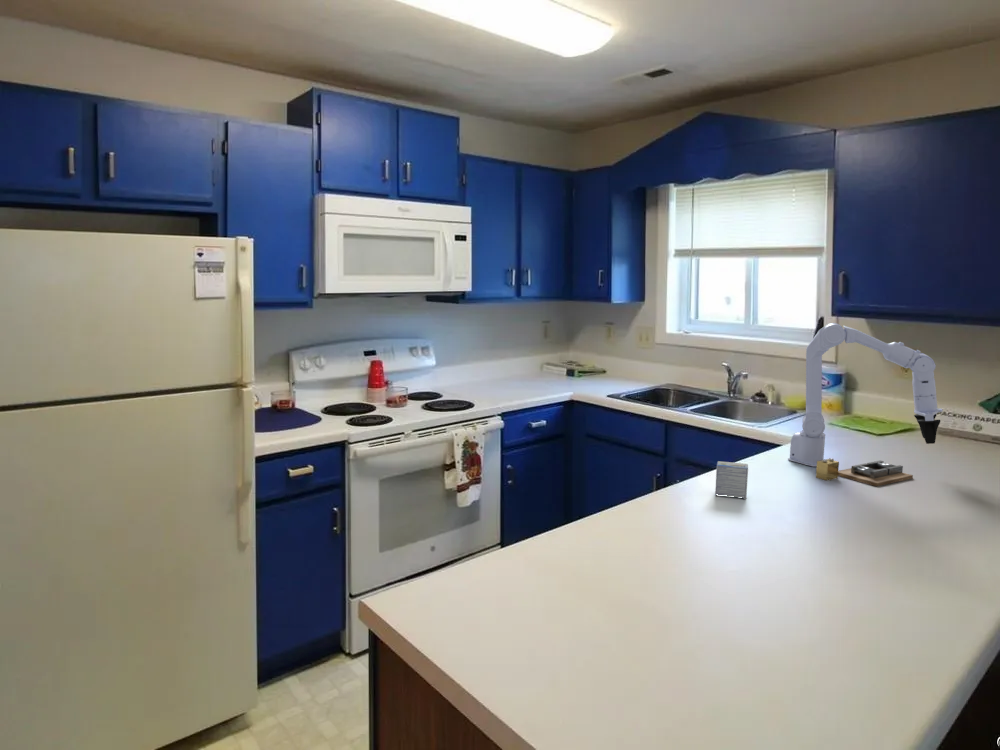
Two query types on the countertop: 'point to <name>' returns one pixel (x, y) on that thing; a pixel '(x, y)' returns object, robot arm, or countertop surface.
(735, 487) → the medicine box
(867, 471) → the chain end
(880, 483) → the chain board
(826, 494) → the countertop surface
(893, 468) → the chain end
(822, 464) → the brass block with studs
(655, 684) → the countertop surface
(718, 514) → the countertop surface
